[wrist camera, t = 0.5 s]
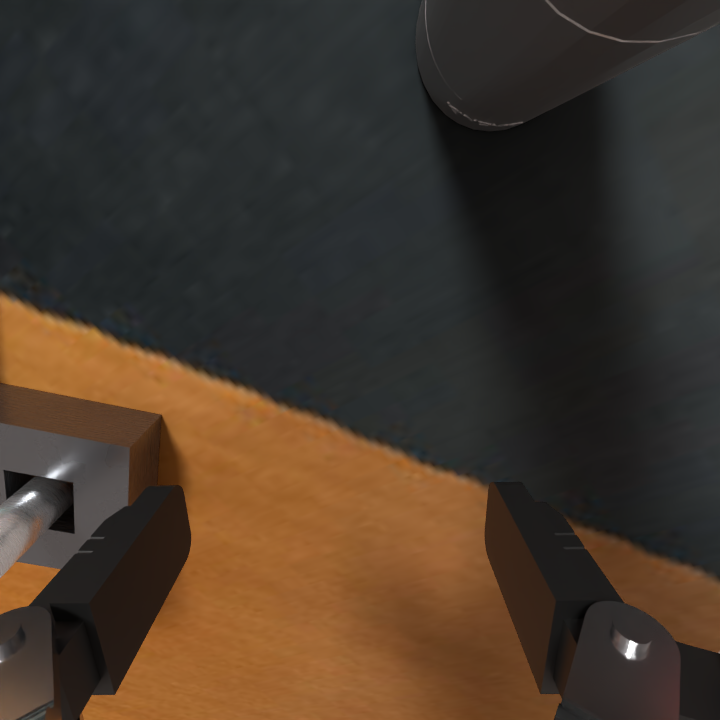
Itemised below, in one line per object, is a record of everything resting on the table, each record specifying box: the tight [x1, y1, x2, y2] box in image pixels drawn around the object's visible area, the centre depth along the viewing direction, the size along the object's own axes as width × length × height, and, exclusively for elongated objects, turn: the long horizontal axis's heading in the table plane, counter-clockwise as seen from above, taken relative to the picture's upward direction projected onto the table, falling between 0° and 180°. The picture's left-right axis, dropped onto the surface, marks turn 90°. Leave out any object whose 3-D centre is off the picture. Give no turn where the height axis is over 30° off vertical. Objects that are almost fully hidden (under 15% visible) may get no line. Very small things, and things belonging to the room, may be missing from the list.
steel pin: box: [0, 476, 74, 578], centre depth 27 cm, size 5×5×12 cm
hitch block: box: [0, 383, 161, 569], centre depth 31 cm, size 12×12×4 cm
